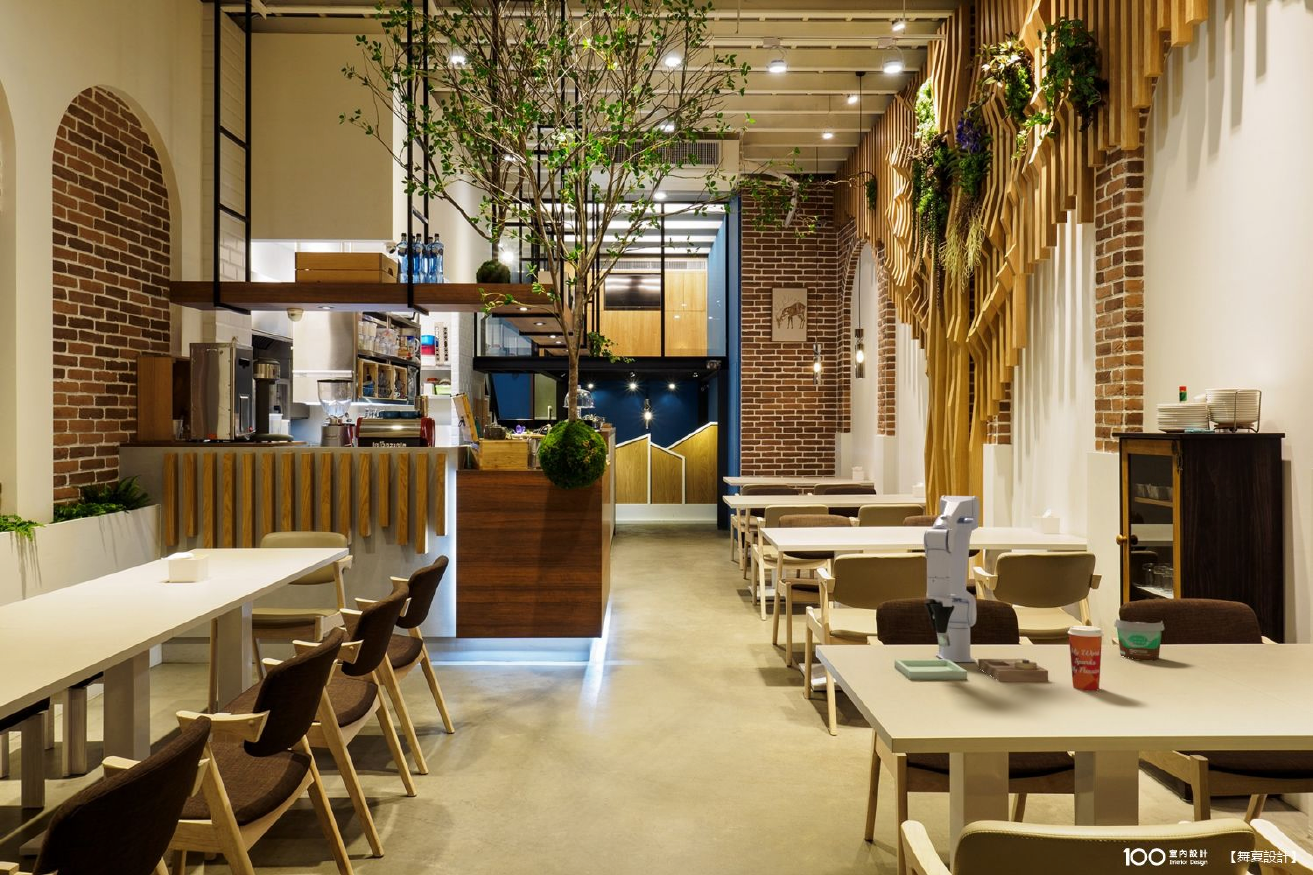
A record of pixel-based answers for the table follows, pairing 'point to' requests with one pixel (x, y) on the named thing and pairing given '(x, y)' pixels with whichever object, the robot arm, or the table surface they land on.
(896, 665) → the tray
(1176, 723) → the table surface
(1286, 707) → the table surface
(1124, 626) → the food container
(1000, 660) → the tensioner block
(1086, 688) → the paper cup
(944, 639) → the pin
